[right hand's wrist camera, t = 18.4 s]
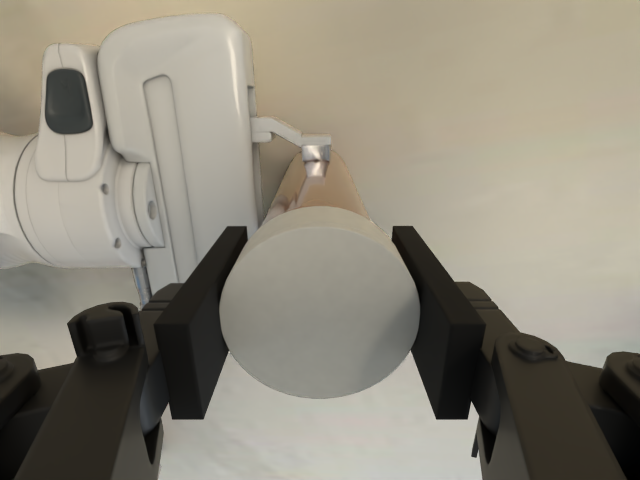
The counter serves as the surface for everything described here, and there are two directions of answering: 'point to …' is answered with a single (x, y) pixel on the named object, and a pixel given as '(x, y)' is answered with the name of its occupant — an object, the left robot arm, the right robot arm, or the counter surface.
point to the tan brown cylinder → (316, 187)
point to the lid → (319, 304)
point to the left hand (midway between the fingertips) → (331, 197)
